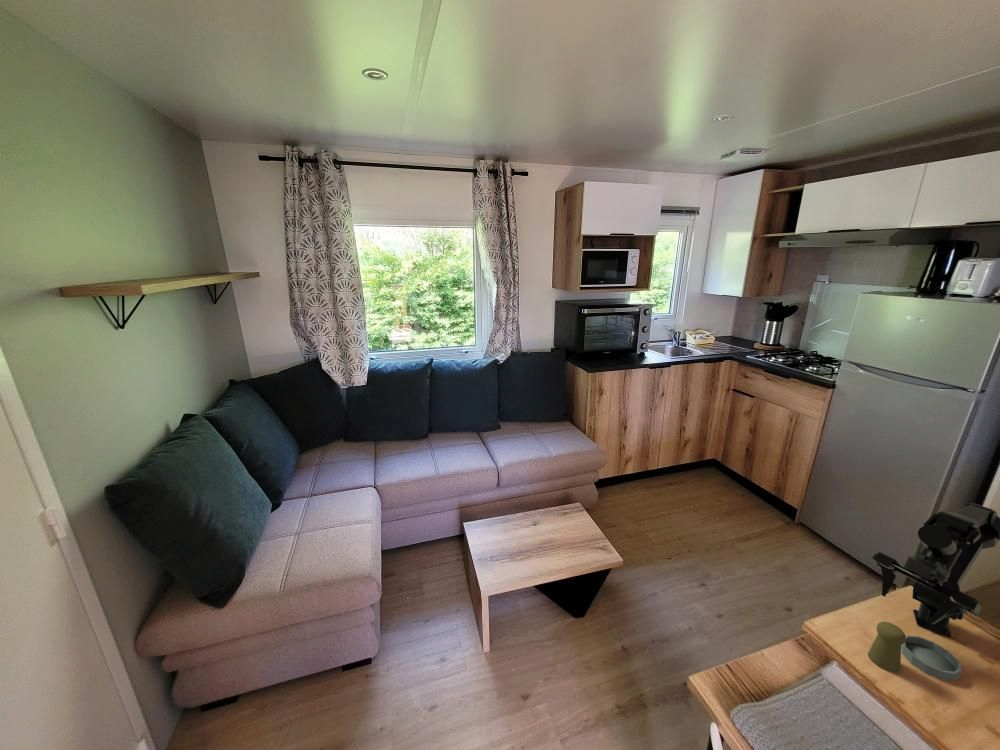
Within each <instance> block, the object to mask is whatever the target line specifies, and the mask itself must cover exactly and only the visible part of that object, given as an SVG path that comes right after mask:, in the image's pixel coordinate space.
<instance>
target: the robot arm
mask: <svg viewBox="0 0 1000 750" xmlns="http://www.w3.org/2000/svg"><path fill="white" fill-rule="evenodd" d="M917 536H918V538H919V540H920V542H921V543H922V545H923V546H922V548H921V551H920V552H918V553H917V554H916V555H915V556H911V555H910V556H908V557H907V559H906V561H905V564H904V566H902V565H900V563H899V562H898V561H897V560H896V559H895V558H893V557H891V556H888V555H886V554H884V553H882V552H875V553H874V554H873V556H872V558H871V560H872V561H873V562H874V563H875V564H876V566H877V567H878V569H880V570H881V575H882V576H881V577H882V587H881V595H882V596H883V598H885V597H886V596H887V595H888V593H889V592H890V590H891V587H892V586H893V584H894V582H895V579H896V577H897V575H896V574H895V573H900V574H901V575H903V576H905V577H907V578H909V579H911V580H913V581H915V583H914V585H913V587H912V598H911V599H913V600H916V601H917V602H919V603H920V604H919V607H918V609H913V610H912V611H913V616H914V618H915V622H916V625H917V626H918V627H922V628H923V629H927V630H930V631H932V632H935V633H937V634H940V635H943V636H945V637H948V638H951V637H952V636H953V635H952V633H951V631H950V628H949V623H950V620H953V621H956V620H960V621H962V620H963V619H964V615H968V614H969V613H971V614H973V615H975V616H978V615H979V614H980V612H981V610H982V606H981V605H980V603H979V600H977V599H976V598H975V597H973V596H971V595H968V594H967V593H964V592H962V591H961V588H960V585H961V583H962V582H963V580H964V579H965V576H967V574H968V572H969V571H970V569H971V567H972V566H973V565H974V563H975V561H976V560H977V558H978V556H979V555H980V554H981V552H982V551H983V550H985V549H990V548H995V547H996V546H997V544H998V543H999V542H1000V516H998V512H997V511H995V510H994V509H992V508H989V507H986V506H984V505H980V504H977V503H974V502H973V503H971V502H968V503H967V504H966V506H965V507H964V508H961V509H959V510H957V511H956V512H953V511H949V510H941V511H938V513H936V512H935V513H934V514H933V515H931V516H930V517H929V518H928V519H927V520H926V521H925V522H924V523H923V526H921V527H919V529H918V530H917Z"/></svg>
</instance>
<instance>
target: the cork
mask: <svg viewBox="0 0 1000 750" xmlns="http://www.w3.org/2000/svg"><path fill="white" fill-rule="evenodd" d="M876 632H877V635H876V637H875V638H874V641H873V642H872V644H871V646H870V648H869V650H868V652H867V657H868V659H870V661H871V662H872V663H873V664H874V665H876V666H877V667H878V668H880V669H882V670H884V671H886V672H889V673H892V674H893V673H894V674H896V673H900V672H901V664H902V663H901V660H902V659H901V657H902V652H901V645H902V644H904V643H905V641H906V636H907V635H906V634H905V632H904V631H903V629H901V627H900V626H897V625H895V624H894V623H891V622H890V621H880V622H878V623H877V625H876Z"/></svg>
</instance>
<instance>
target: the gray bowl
mask: <svg viewBox="0 0 1000 750" xmlns="http://www.w3.org/2000/svg"><path fill="white" fill-rule="evenodd" d="M905 636H906V641H905V643H904V644H902V645H901V655H903V657H905V659H906V660H907V661H908V662H909V663H910V664H911V665H912V666H914V667H915V668H917V669H919V670H920V671H921V672H923V673H924V674H927V675H929V676H931V677H933V678H936V679H939V680H941V681H949V682H955V681H956V680H957V679H959V678H960V676H961V673H962V670H963V669H962V665H961V663H960V661H959V660H958V658H956V657H955V655H953V653H951V652H950V651H949V650H948V649H946V648H945V647H943V646H941V645H940V644H938V643H936V642H934V641H933V640H930V639H927V638H926V637H925V638H924V637H922V636H919V635H909V634H908V635H905Z"/></svg>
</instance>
